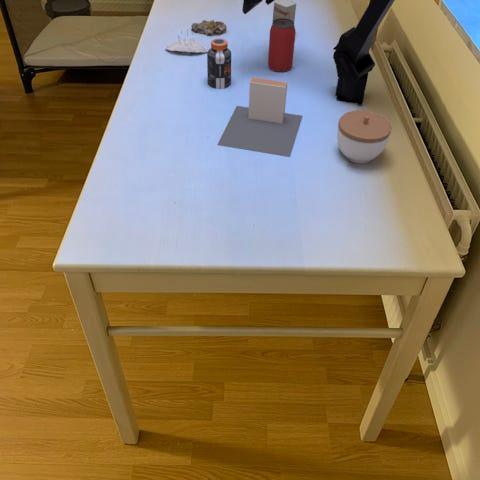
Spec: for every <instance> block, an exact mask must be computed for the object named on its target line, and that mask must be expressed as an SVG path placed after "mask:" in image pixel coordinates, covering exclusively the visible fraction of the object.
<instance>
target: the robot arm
mask: <svg viewBox="0 0 480 480" xmlns="http://www.w3.org/2000/svg"><path fill="white" fill-rule="evenodd" d="M264 1H265V4H266V5H267V6H268V5H271V4H272V3H274V2H275V1H276V0H264ZM395 1H396V0H371V1H370V2H369V4H368V5H367V7H366V9H365V11H364V12H363V14H362V15H361V18H360V19H359V21H358V23H357V25H356V26H353V27H351V28H350V29H348V30H347V31H345V32H344V33H342V34H341V35H340V37H339V39H338V42H337V44H336V45H335V46H334V47H333V48H332V49H333V56H332V59H333V61H334V64H335V67H336V73H337V75H336V76H337V84H336V87H335V97H336V102H337V101H338V102H345V103H349V104H350V103H351V104H355V105H356V104H357V105H358V106H363V104H364V100H365V92H366V87H367V82H368V77H369V73H370V72H372V71H373V69H374V67H376V63H375V62H376V61H374V59H373V58H372V55H371V54H370V50H371V47H372V45H373V40H374V39H373V38H374V34H375V33H376V31H377V30H378V28H379V26H380V25H381V24H382V22H383V20H384V19H385V16H386V15H387V13H388V12H389V10H390V8H392V6H393V4H394V2H395ZM262 2H263V0H243V3H242V13H243V14H244V15H246V14H248V13H250V11H252V10H253V9H254V8H255V7H257V6H258V5H259V4H260V3H262Z"/></svg>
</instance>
